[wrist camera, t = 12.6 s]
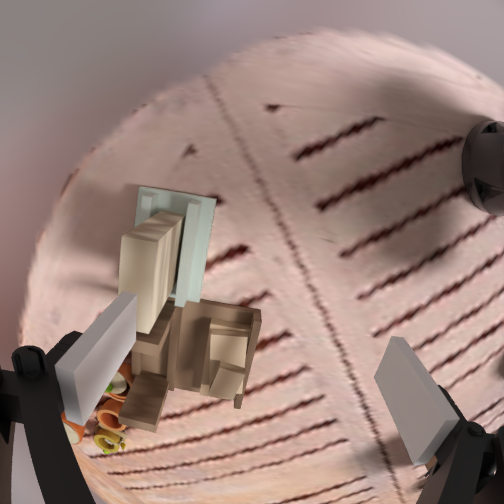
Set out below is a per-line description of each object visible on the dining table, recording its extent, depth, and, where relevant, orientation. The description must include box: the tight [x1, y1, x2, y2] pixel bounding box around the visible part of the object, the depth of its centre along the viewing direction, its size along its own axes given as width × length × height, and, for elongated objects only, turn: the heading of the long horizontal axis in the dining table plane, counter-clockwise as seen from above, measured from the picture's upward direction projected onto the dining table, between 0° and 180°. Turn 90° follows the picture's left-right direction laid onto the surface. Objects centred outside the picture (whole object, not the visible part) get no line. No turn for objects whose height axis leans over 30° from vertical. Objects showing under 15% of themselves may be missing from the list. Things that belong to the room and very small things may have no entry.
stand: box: [134, 186, 217, 307], centre depth 40 cm, size 10×14×4 cm
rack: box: [118, 297, 262, 433], centre depth 41 cm, size 17×16×12 cm
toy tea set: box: [61, 362, 134, 454], centre depth 46 cm, size 26×16×10 cm, turn 155°
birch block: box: [118, 211, 186, 334], centre depth 34 cm, size 3×9×14 cm, turn 169°
